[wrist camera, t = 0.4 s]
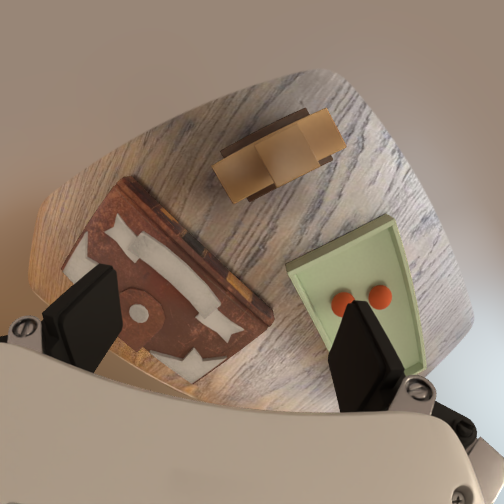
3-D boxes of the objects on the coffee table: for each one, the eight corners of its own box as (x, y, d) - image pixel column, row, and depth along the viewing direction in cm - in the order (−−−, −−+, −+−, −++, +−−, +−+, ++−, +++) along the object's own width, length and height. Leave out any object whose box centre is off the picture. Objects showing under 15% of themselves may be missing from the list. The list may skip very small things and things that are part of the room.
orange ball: (362, 287, 31) (370, 300, 28) (383, 276, 30) (392, 288, 28) (368, 305, 32) (376, 318, 29) (388, 295, 31) (397, 307, 28)
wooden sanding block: (218, 163, 22) (187, 173, 13) (317, 113, 20) (352, 90, 11) (237, 196, 23) (220, 227, 14) (335, 147, 21) (381, 147, 12)
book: (272, 305, 34) (275, 326, 29) (193, 368, 37) (188, 391, 32) (135, 175, 29) (117, 177, 24) (74, 262, 32) (54, 275, 27)
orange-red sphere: (325, 294, 32) (330, 307, 29) (347, 283, 31) (354, 295, 28) (333, 312, 32) (338, 326, 30) (355, 302, 32) (362, 315, 29)
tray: (285, 263, 31) (286, 272, 29) (386, 213, 28) (394, 218, 26) (352, 393, 39) (355, 403, 37) (421, 359, 36) (426, 368, 34)
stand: (228, 151, 27) (219, 151, 21) (297, 116, 25) (305, 107, 20) (252, 192, 28) (249, 202, 23) (319, 158, 27) (333, 160, 21)
